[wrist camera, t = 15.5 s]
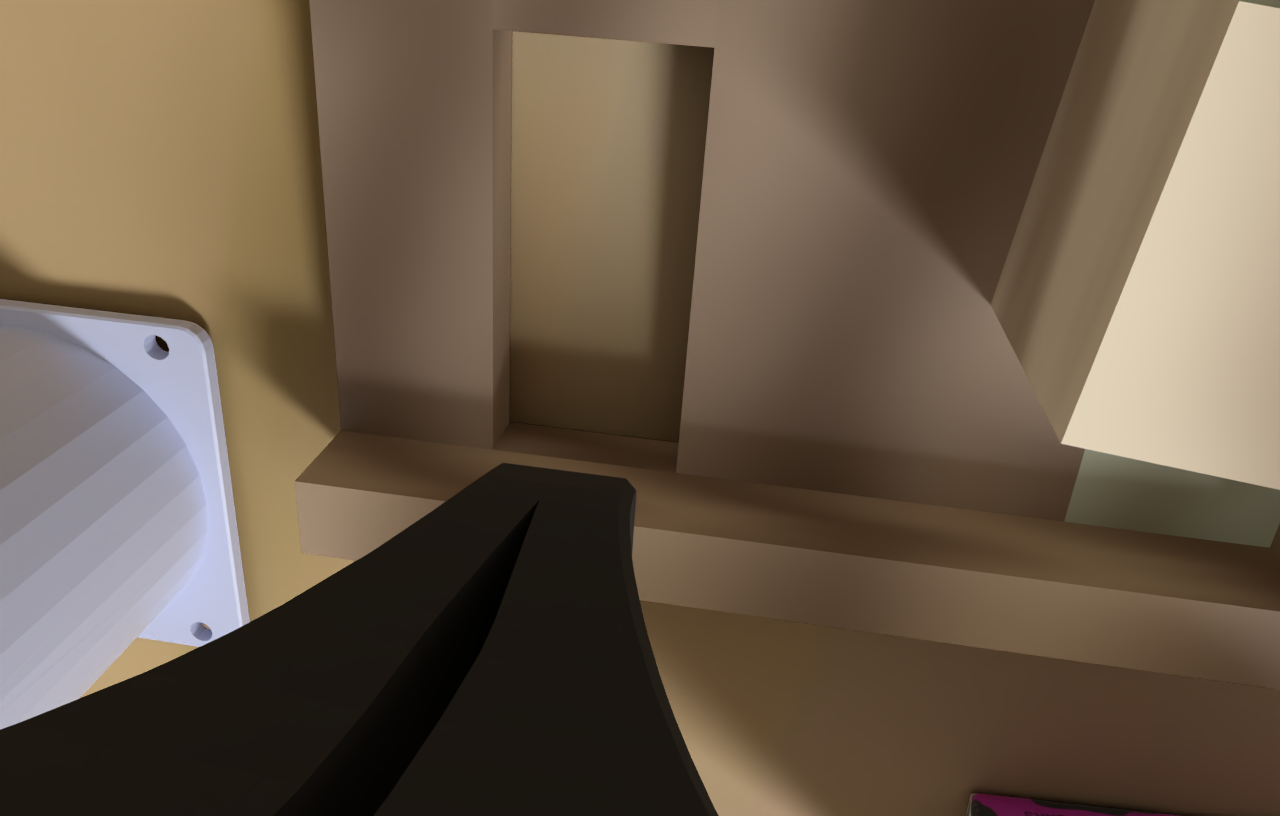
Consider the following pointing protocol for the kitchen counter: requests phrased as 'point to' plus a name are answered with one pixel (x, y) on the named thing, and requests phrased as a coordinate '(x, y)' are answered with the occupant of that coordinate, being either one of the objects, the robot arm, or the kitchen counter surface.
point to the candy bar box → (1039, 808)
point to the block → (1159, 242)
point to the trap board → (777, 334)
